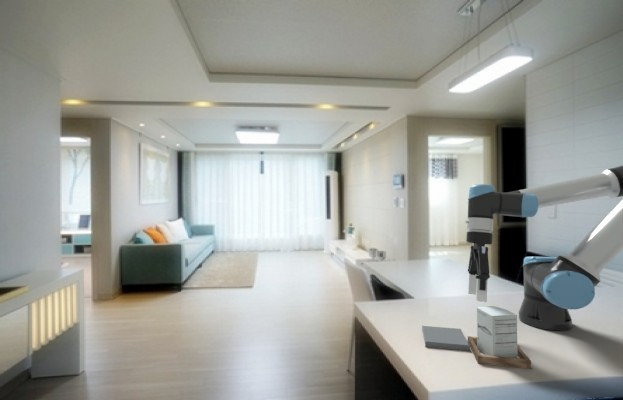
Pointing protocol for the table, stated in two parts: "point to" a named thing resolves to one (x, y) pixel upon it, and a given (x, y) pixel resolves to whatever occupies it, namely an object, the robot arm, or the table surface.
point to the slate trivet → (444, 338)
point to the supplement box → (497, 331)
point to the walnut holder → (499, 357)
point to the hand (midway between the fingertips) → (476, 297)
